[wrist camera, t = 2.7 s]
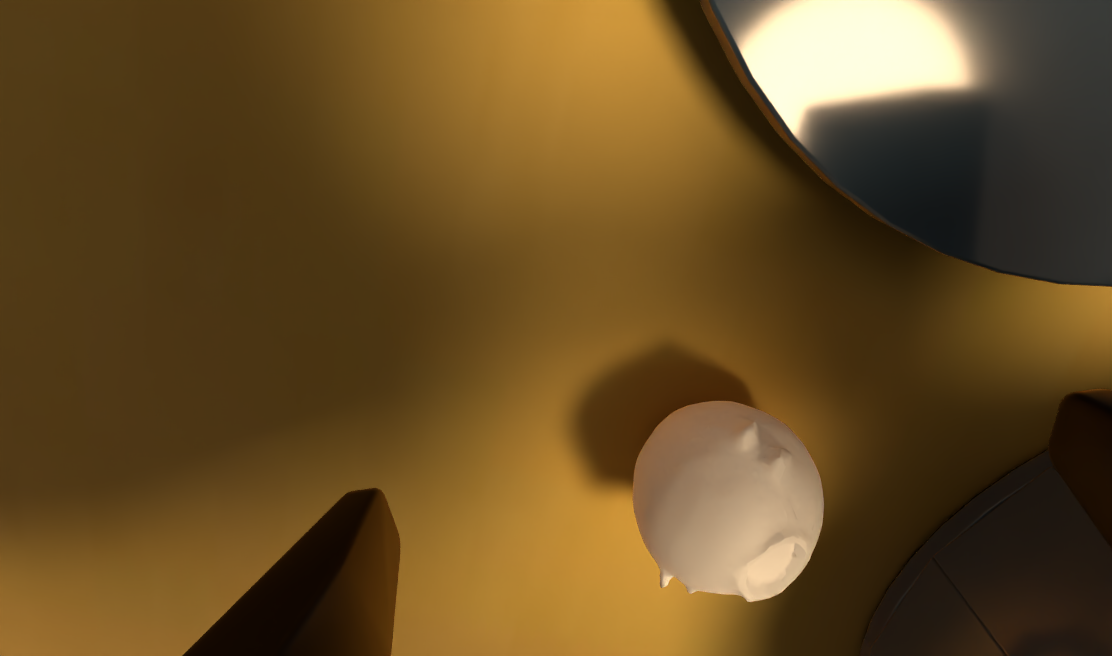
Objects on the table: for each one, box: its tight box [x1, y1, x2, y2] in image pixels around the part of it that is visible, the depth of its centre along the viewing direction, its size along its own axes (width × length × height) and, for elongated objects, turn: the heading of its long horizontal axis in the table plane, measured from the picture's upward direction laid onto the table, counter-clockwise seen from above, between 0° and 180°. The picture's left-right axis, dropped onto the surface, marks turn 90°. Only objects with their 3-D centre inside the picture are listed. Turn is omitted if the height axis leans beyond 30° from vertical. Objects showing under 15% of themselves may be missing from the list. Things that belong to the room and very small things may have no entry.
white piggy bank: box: [633, 401, 824, 602], centre depth 9 cm, size 3×3×3 cm
